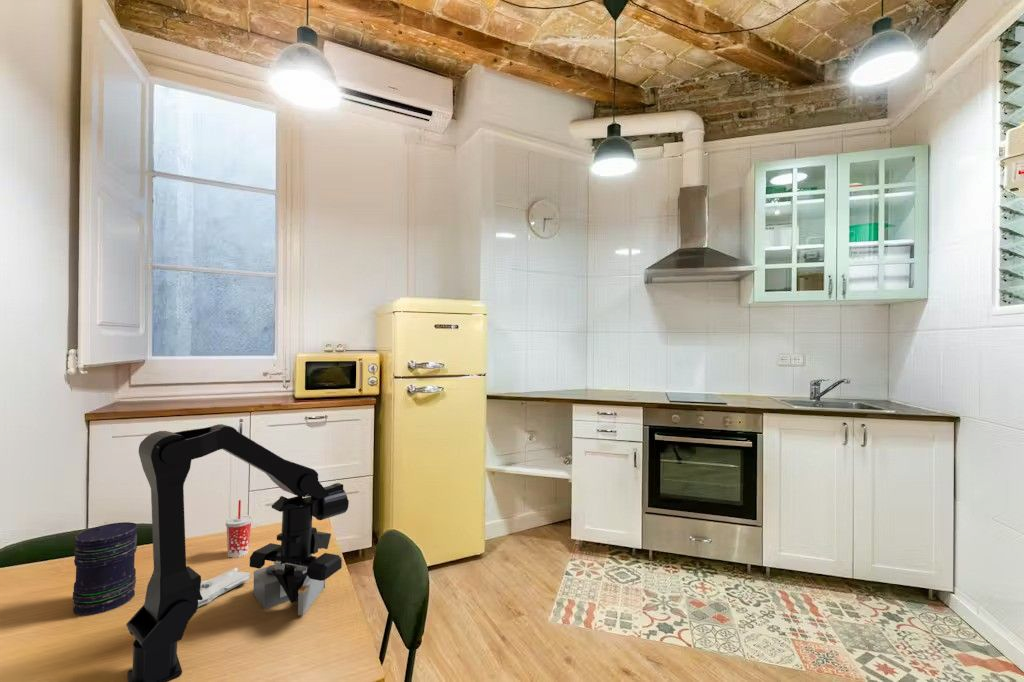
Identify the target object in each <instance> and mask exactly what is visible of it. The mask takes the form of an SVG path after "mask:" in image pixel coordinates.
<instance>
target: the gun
mask: <svg viewBox="0 0 1024 682" xmlns="http://www.w3.org/2000/svg"><path fill="white" fill-rule="evenodd" d="M251 579H252V573H250V572H244V571H239V568H238V567H234V568H231V569H230V570H228V571H225V572H223V573H222V574H219V575H217V576H214V577H213V578H211V579H206V580H201V585H200V594H201V596H202V598H203V599H202V600H198V608H200V607H202V606H204V605H206V604H208V603H211V602H212V601H214V599H216V598H218V597H219V596H222V595H223V594H225V593H227V592H228V591H231V590H233V589H234V588H237V587H238V586H240V585H243V584H244V583H246V582H247V581H250V580H251Z"/></svg>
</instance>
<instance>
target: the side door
mask: <svg viewBox="0 0 1024 682" xmlns="http://www.w3.org/2000/svg"><path fill="white" fill-rule="evenodd" d="M325 588H326V580H322V581H319V580H314V579H310V580H309V581H308V582H307V583H306V585H305V586H302V587H301V588H300V589H299V590H298V599H297V602H298V603H297V606H298V607H297V615H298V616H304V615H305V613H306V612H307V611H308V609H309V608H310V607H311V606H312V604H313V603H314V602H315V601H316V600H317V598H318V597H319V595H320V594H321V593H322V591H323V590H324V589H325Z"/></svg>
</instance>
